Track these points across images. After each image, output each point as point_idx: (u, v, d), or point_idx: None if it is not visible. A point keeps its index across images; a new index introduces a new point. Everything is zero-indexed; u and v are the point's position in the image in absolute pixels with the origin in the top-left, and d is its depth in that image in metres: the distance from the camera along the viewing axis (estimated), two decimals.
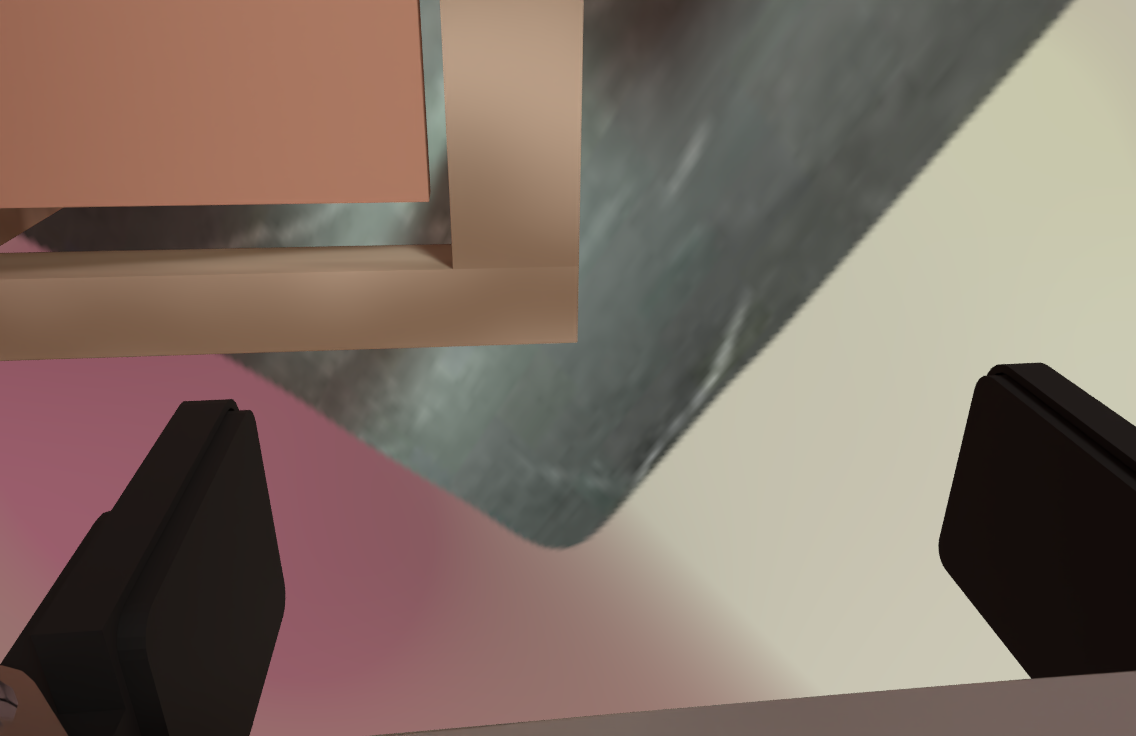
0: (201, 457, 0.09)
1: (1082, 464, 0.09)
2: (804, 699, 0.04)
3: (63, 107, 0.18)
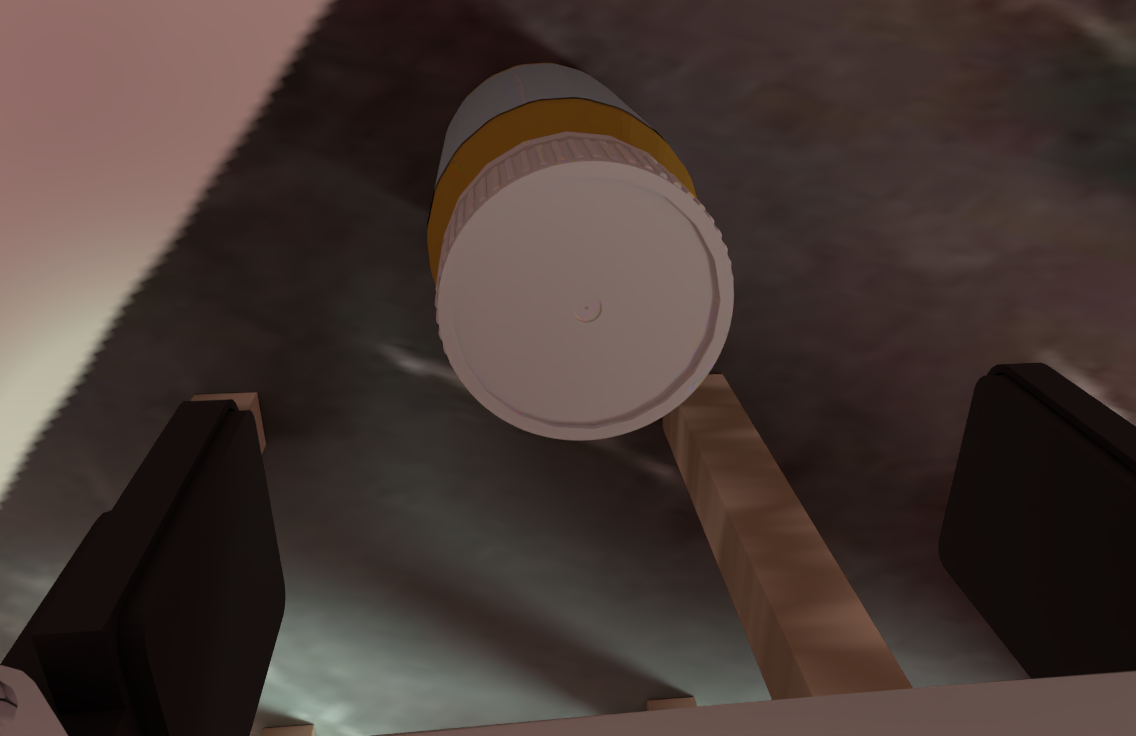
0: (201, 457, 0.09)
1: (1082, 464, 0.09)
2: (804, 699, 0.04)
3: None
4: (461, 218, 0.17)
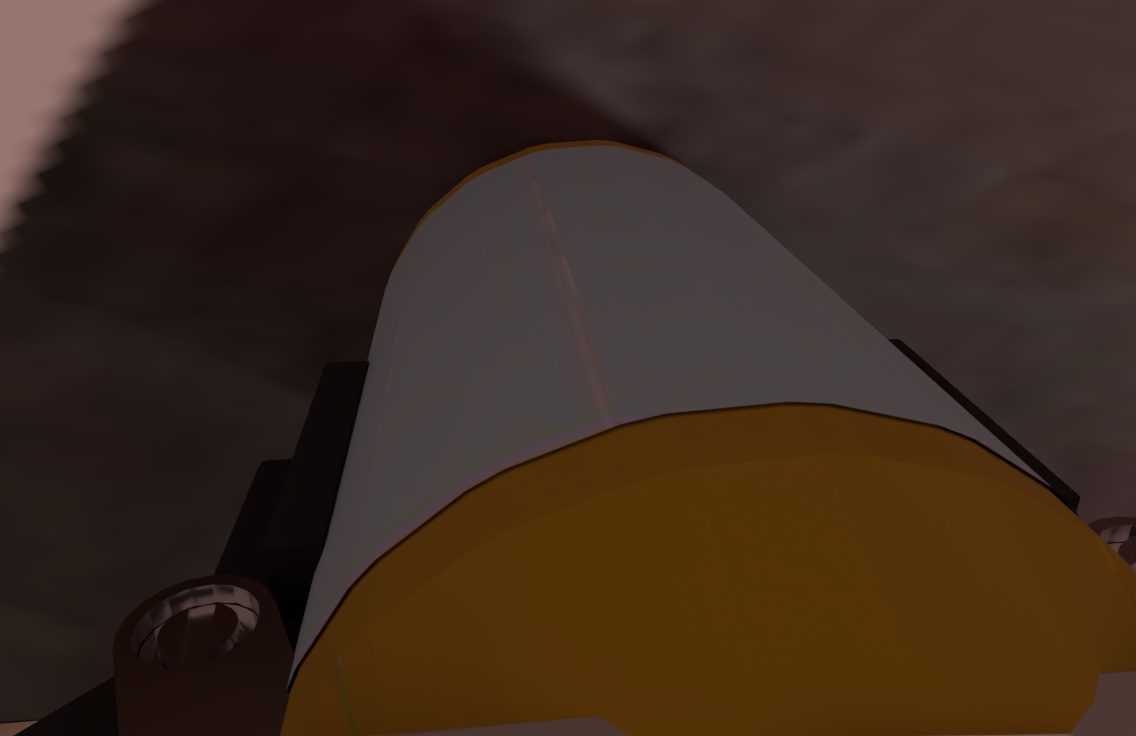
0: None
1: None
2: None
3: None
4: None
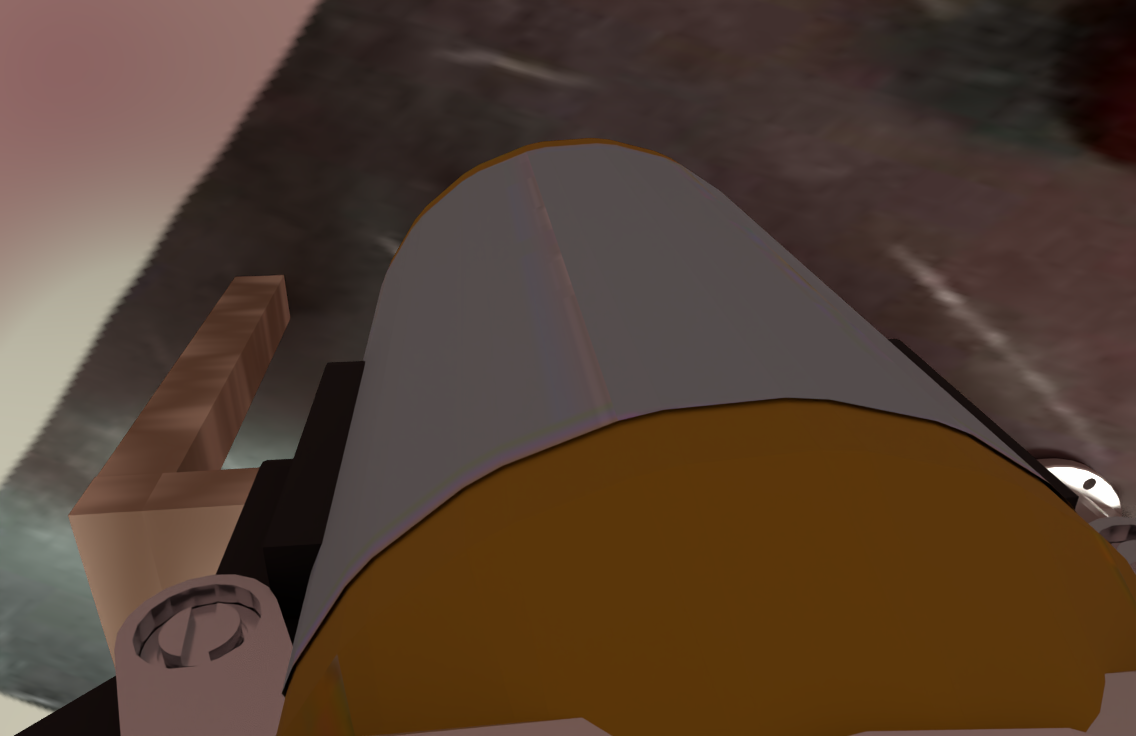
0: None
1: None
2: None
3: None
4: None
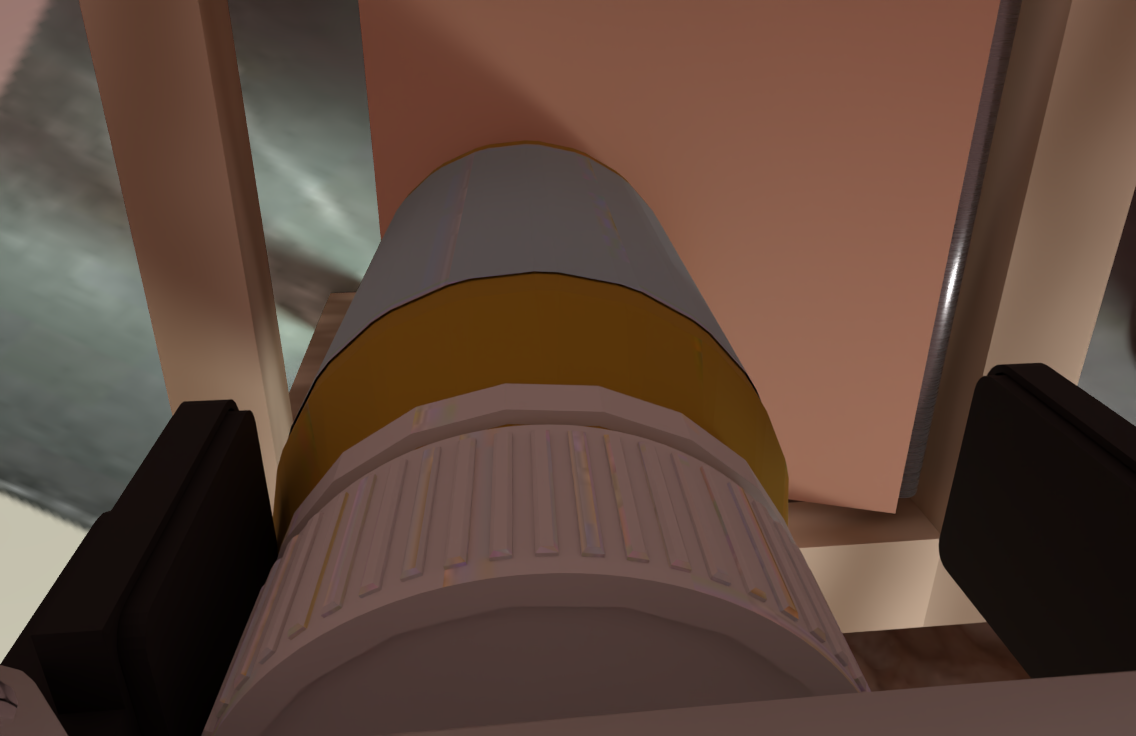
0: (201, 457, 0.09)
1: (1082, 464, 0.09)
2: (804, 699, 0.04)
3: None
4: (234, 668, 0.07)
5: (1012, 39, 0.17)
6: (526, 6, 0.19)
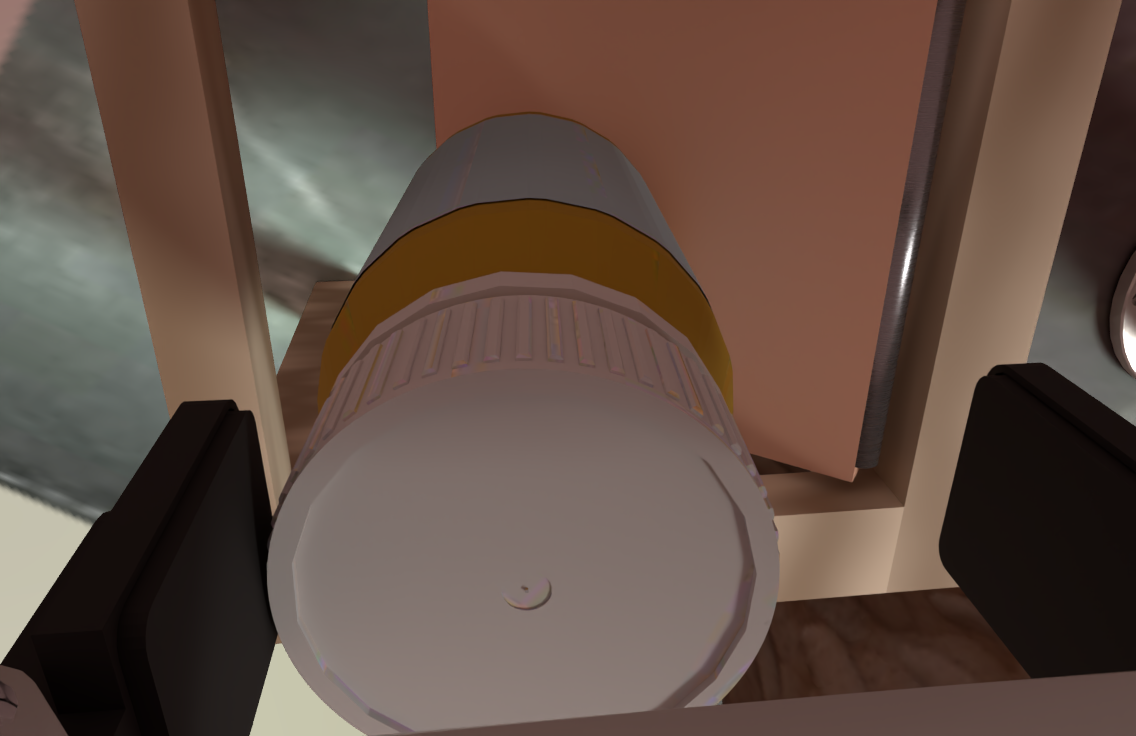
0: (201, 457, 0.09)
1: (1083, 464, 0.09)
2: (804, 699, 0.04)
3: None
4: (302, 454, 0.10)
5: (955, 29, 0.18)
6: None
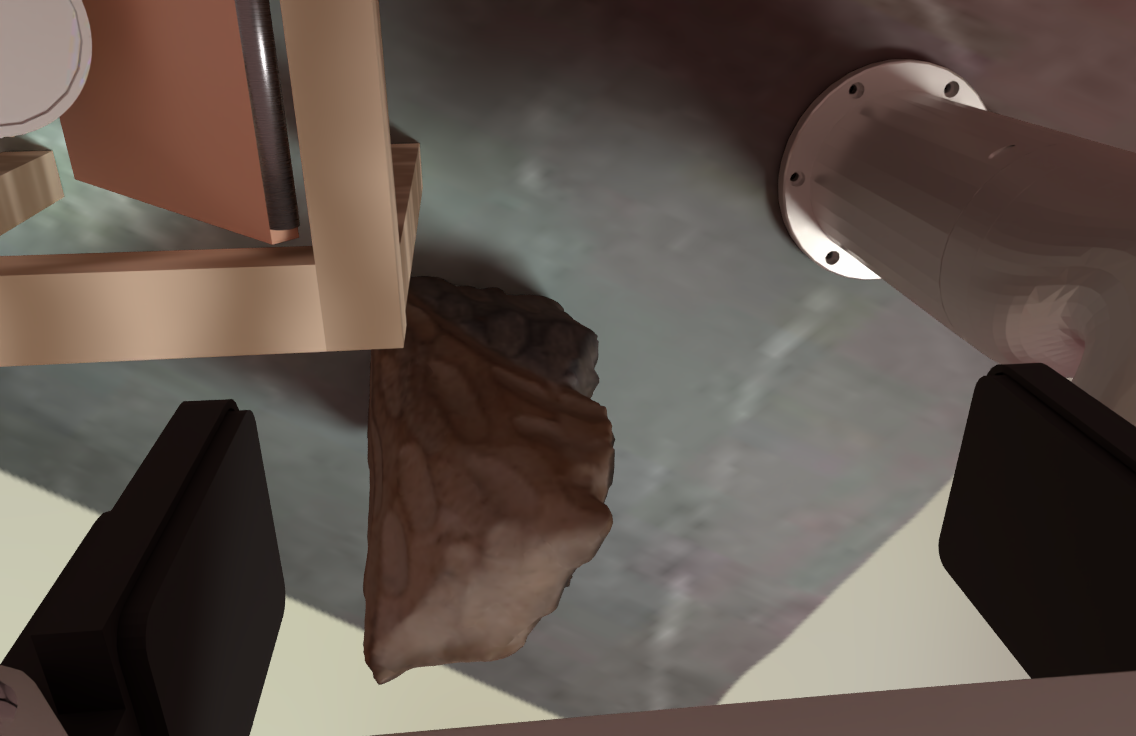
0: (201, 457, 0.09)
1: (1082, 464, 0.09)
2: (804, 699, 0.04)
3: None
4: None
5: None
6: None
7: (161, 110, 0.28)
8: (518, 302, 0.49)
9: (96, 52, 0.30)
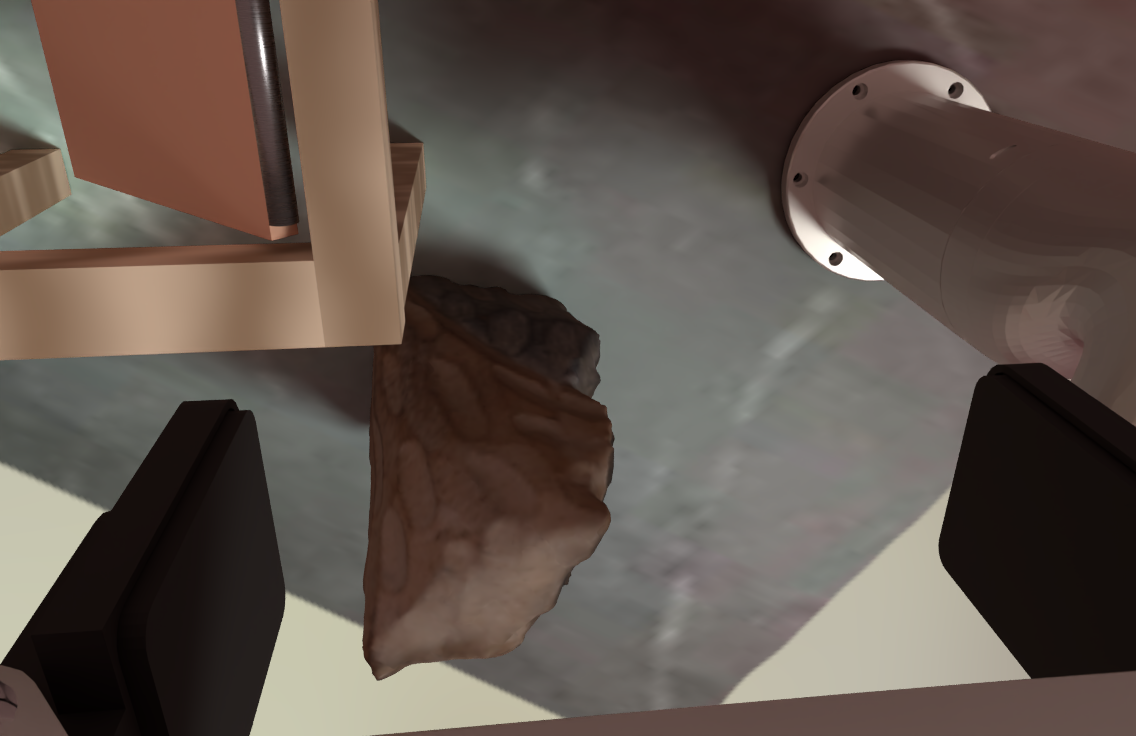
0: (201, 457, 0.09)
1: (1082, 464, 0.09)
2: (804, 699, 0.04)
3: None
4: None
5: None
6: None
7: (161, 108, 0.29)
8: (521, 301, 0.49)
9: (97, 50, 0.30)
